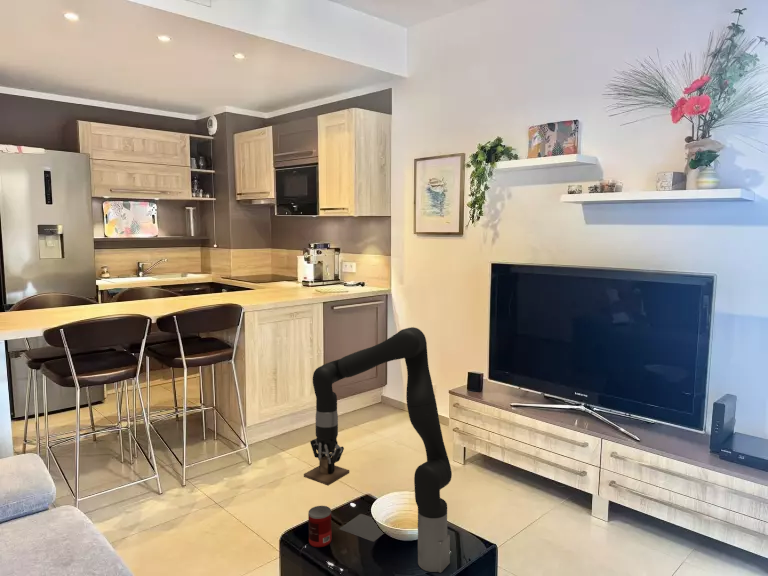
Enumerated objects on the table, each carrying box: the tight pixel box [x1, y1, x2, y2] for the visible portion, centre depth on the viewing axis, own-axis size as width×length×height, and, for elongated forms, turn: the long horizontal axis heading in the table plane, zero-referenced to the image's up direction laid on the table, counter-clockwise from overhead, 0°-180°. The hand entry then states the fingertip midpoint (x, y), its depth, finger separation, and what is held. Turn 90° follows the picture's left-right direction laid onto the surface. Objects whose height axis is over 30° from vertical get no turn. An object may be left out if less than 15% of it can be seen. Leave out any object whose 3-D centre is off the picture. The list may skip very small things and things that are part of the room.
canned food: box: [307, 505, 333, 548], centre depth 182 cm, size 8×8×11 cm
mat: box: [339, 513, 385, 543], centre depth 191 cm, size 15×13×1 cm
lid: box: [303, 456, 350, 486], centre depth 182 cm, size 11×11×6 cm
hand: (326, 471), depth 182 cm, fingers closed on lid, 3 cm apart
